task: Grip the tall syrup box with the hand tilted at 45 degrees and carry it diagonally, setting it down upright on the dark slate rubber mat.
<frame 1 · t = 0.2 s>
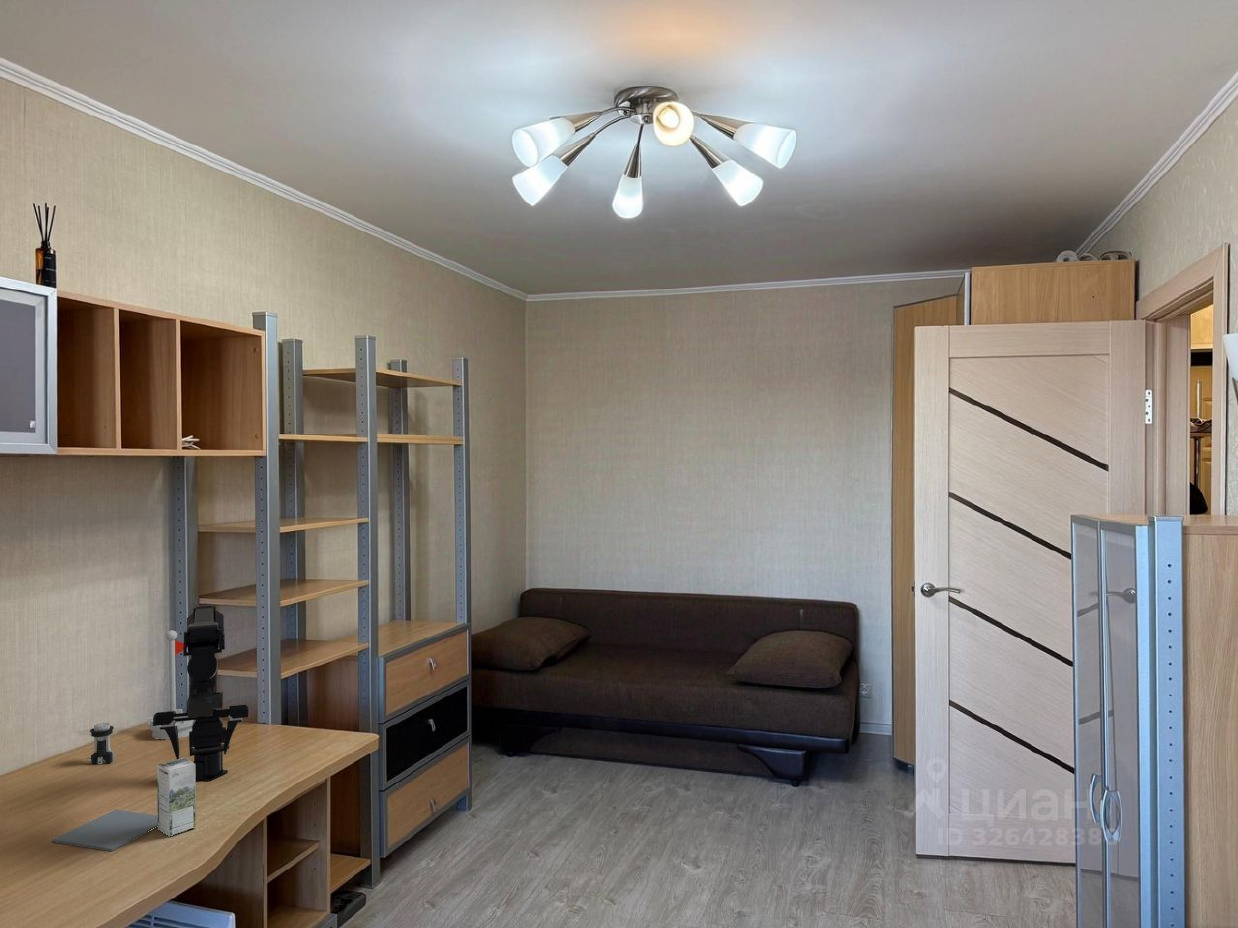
hand: (201, 756, 191), 15 cm above the table, tool tilted 15°, fingers open, 9 cm apart
syrup box: (177, 830, 190), on the table
slate mat: (114, 830, 190), on the table
flag stand: (173, 734, 256), on the table
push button: (99, 763, 232), on the table
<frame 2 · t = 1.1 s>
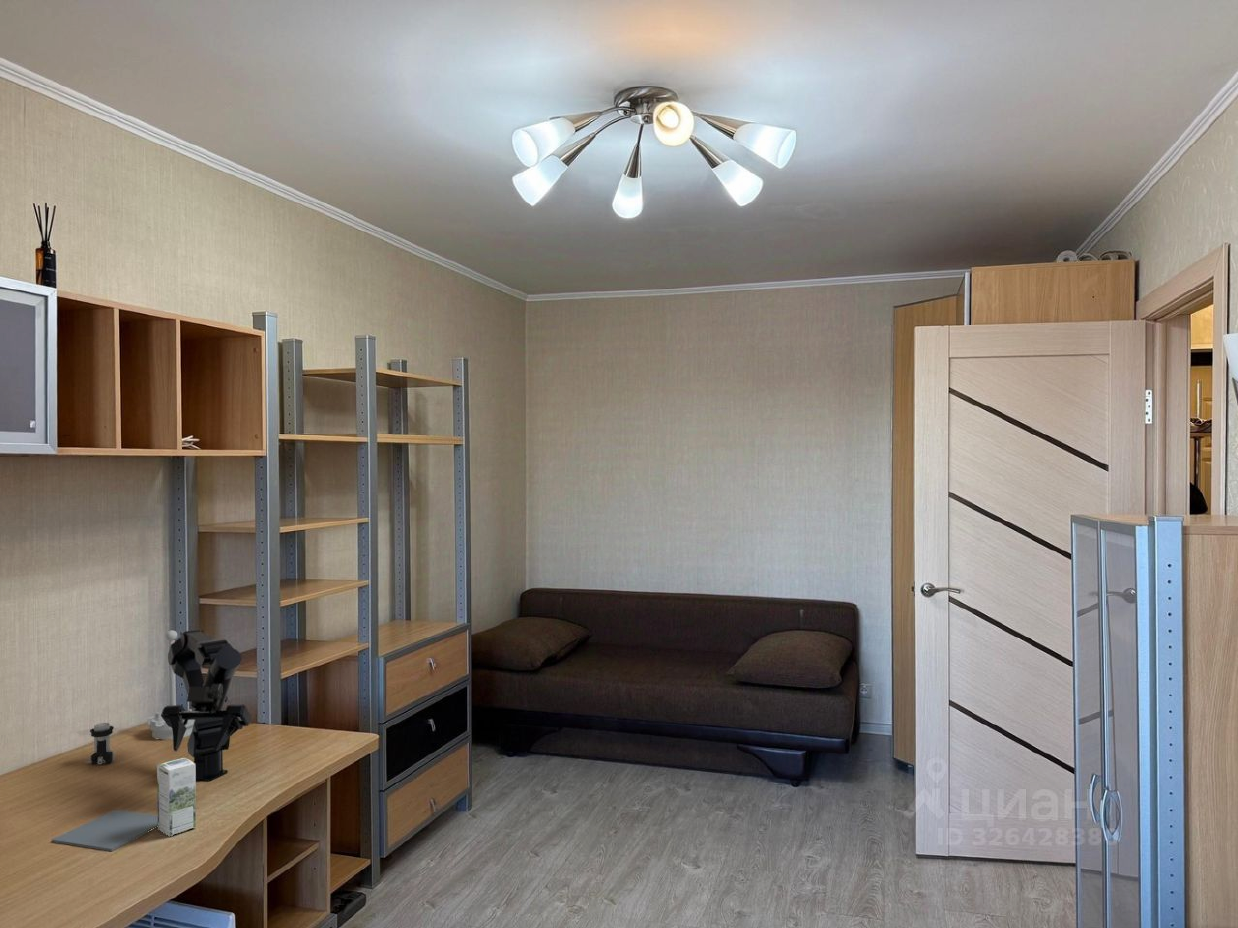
hand: (195, 749, 201), 13 cm above the table, tool tilted 45°, fingers open, 9 cm apart
nothing on the table moved.
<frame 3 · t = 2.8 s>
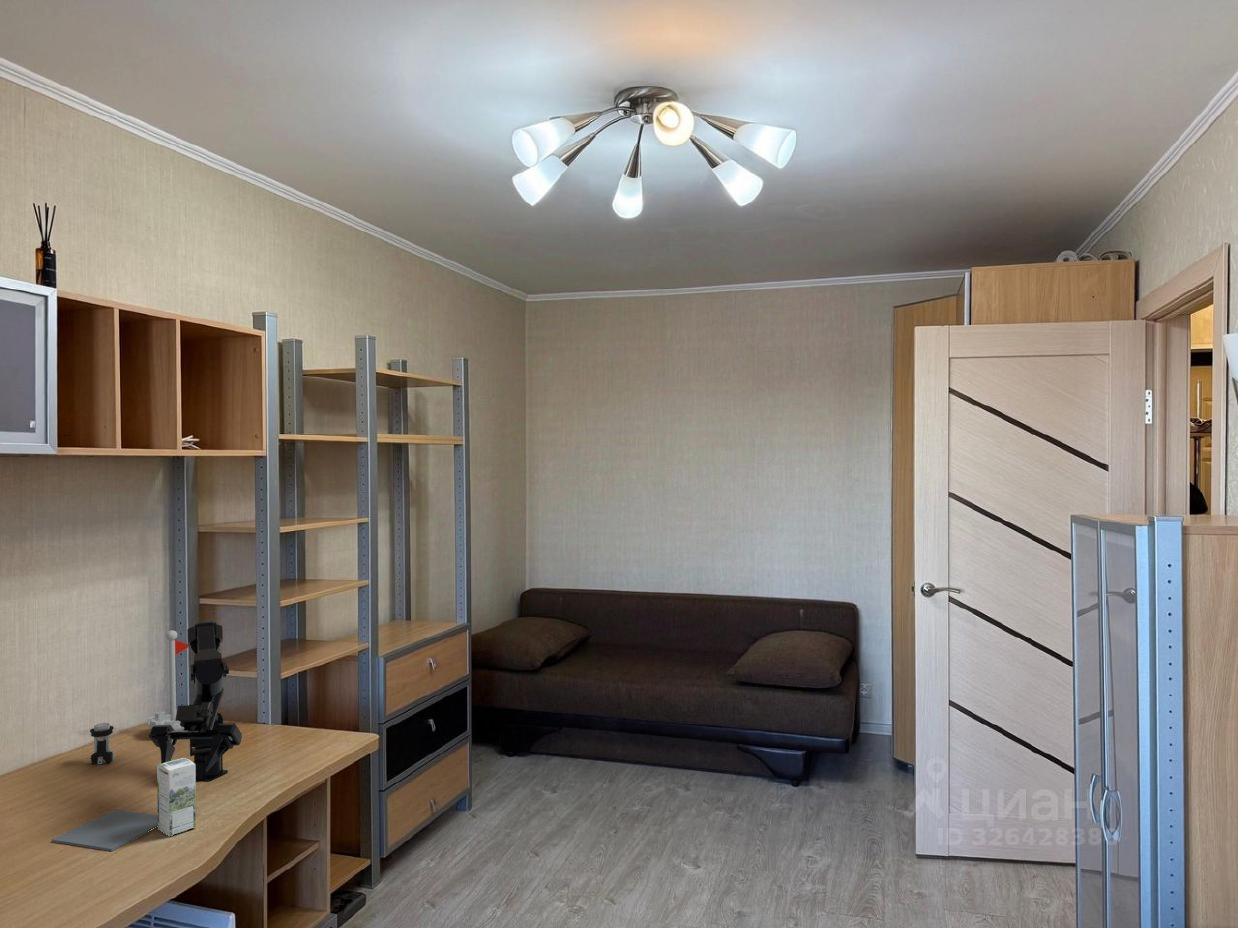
hand: (184, 771, 194), 11 cm above the table, tool tilted 45°, fingers open, 9 cm apart
nothing on the table moved.
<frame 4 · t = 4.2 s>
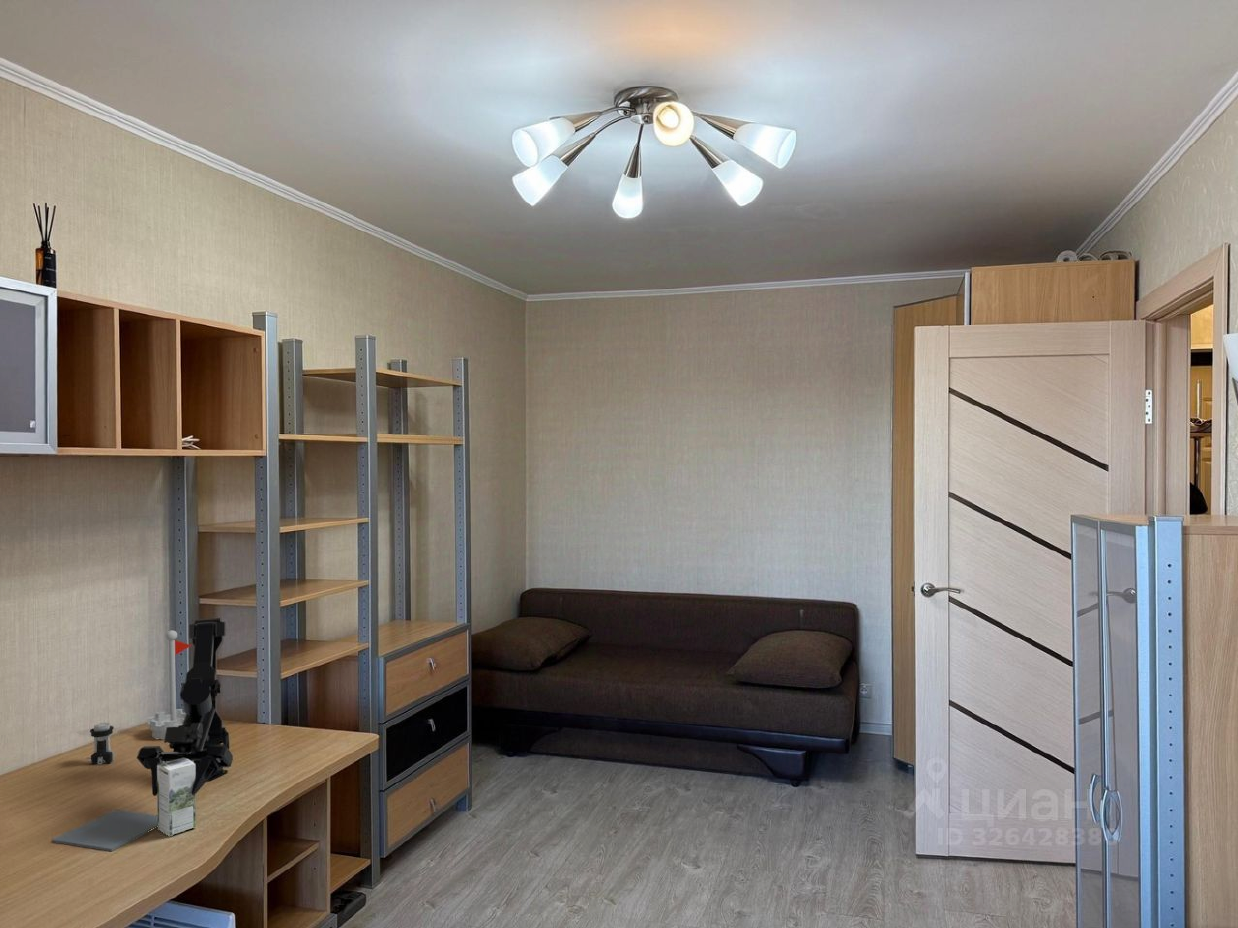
hand: (173, 794, 189), 8 cm above the table, tool tilted 45°, fingers closed on syrup box, 8 cm apart
syrup box: (177, 830, 190), on the table, touching gripper
everything else where it was.
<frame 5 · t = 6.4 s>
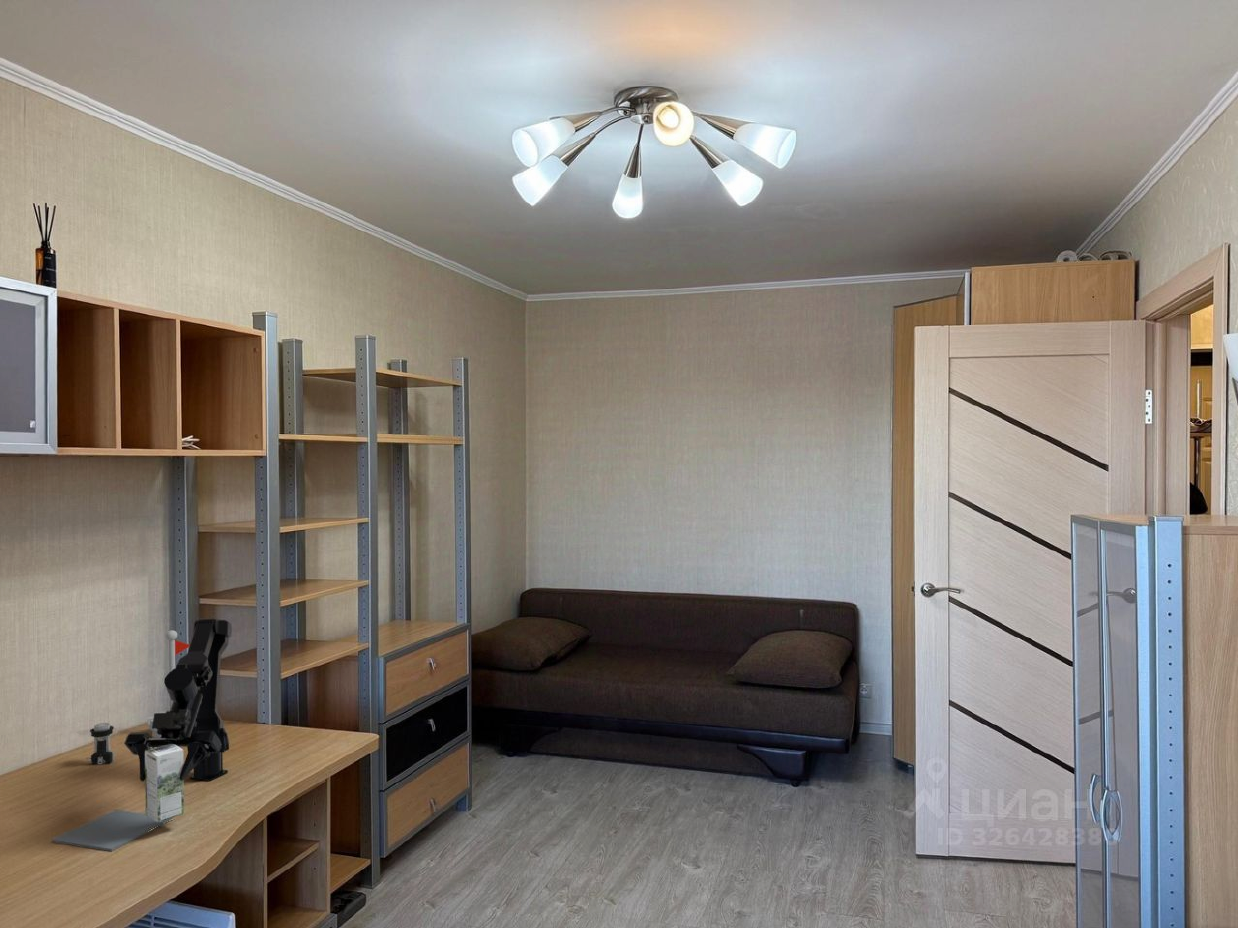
hand: (161, 780, 189), 11 cm above the table, tool tilted 45°, fingers closed on syrup box, 8 cm apart
syrup box: (165, 816, 190), point 3 cm above the table, touching gripper
everything else where it was.
when the fingers open (9 cm above the table, at t = 8.8 s): syrup box stays where it is, resting on slate mat.
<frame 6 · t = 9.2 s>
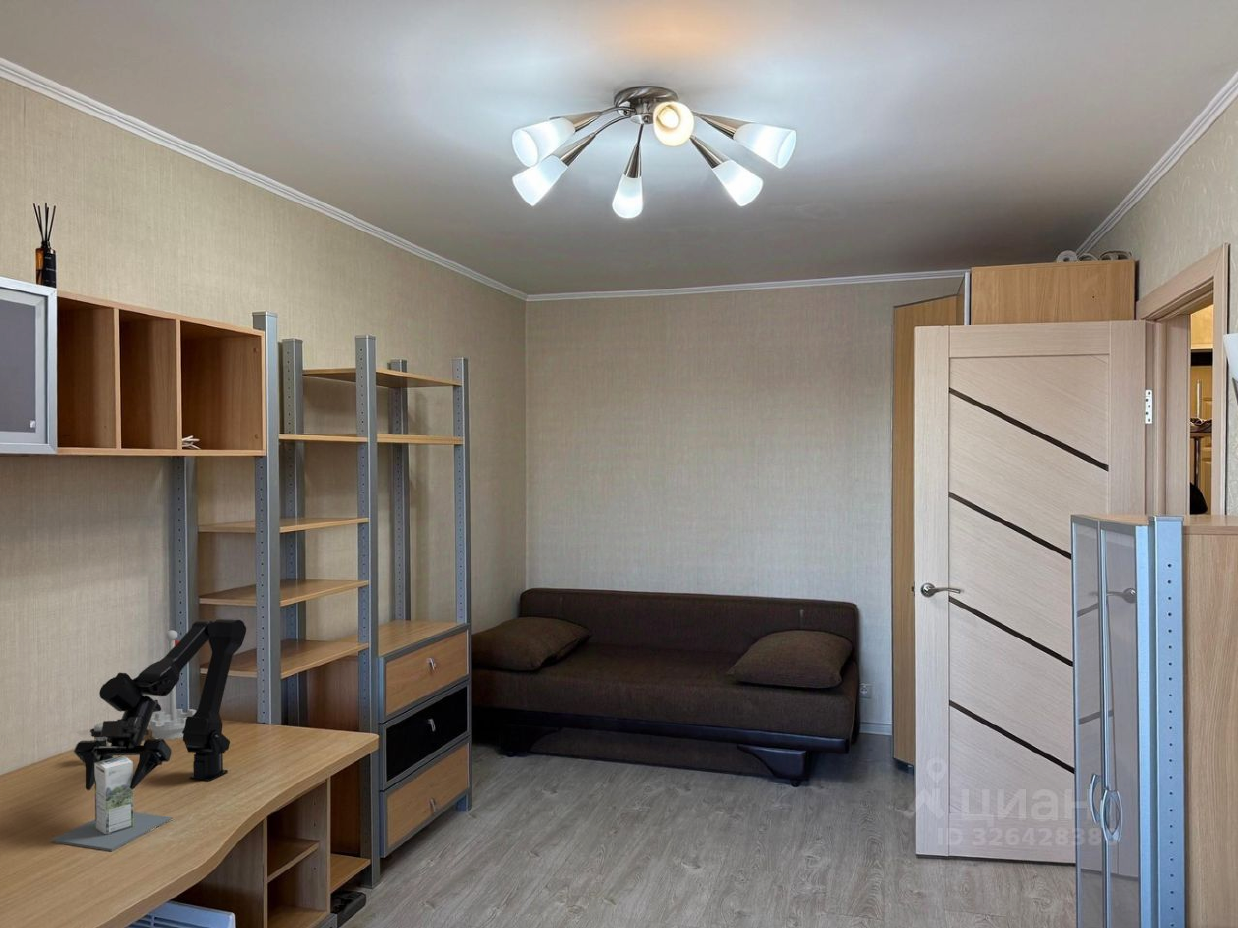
hand: (109, 788, 189), 10 cm above the table, tool tilted 45°, fingers open, 9 cm apart
syrup box: (114, 828, 190), resting on slate mat
everything else where it was.
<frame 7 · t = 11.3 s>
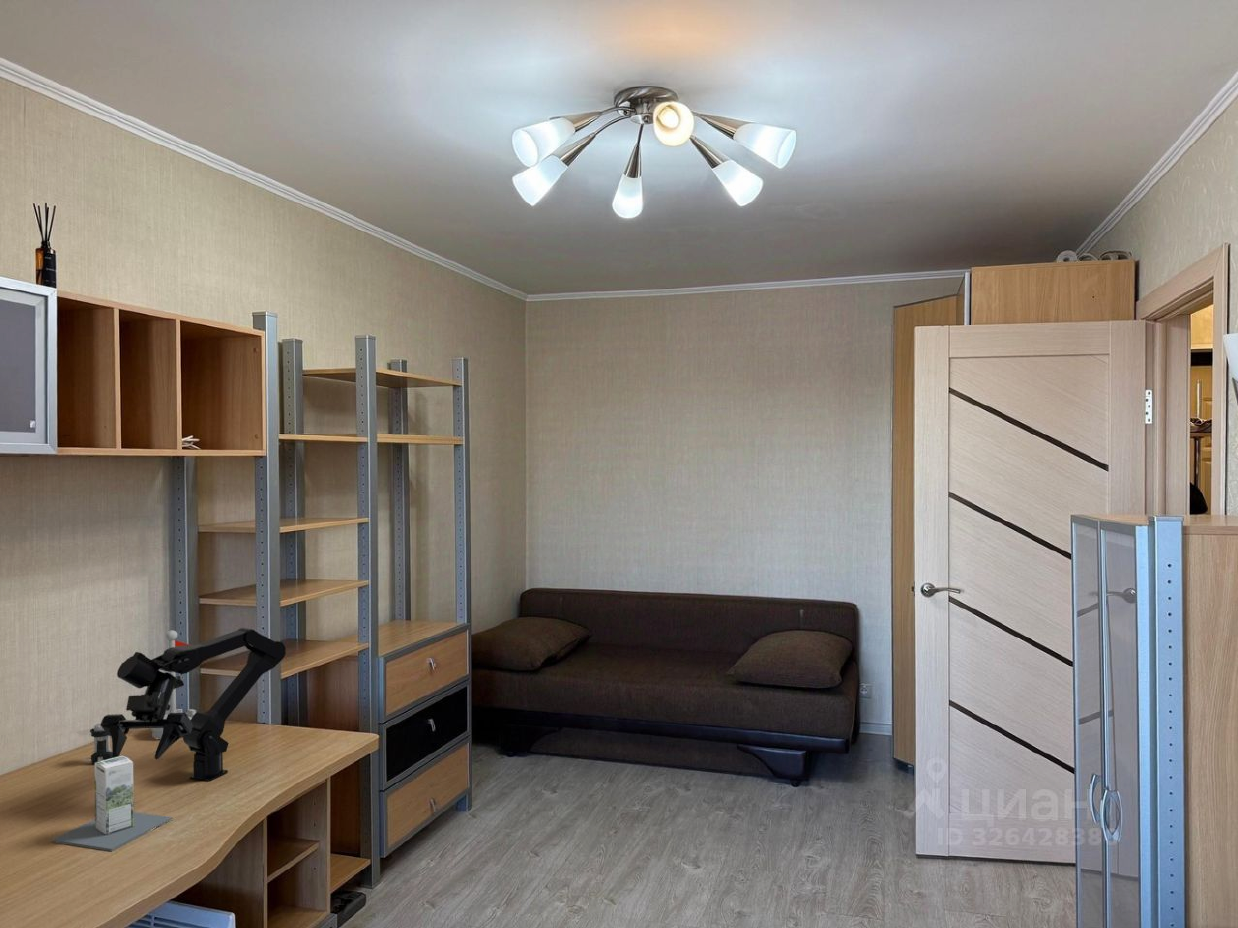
hand: (135, 759, 199), 12 cm above the table, tool tilted 45°, fingers open, 9 cm apart
nothing on the table moved.
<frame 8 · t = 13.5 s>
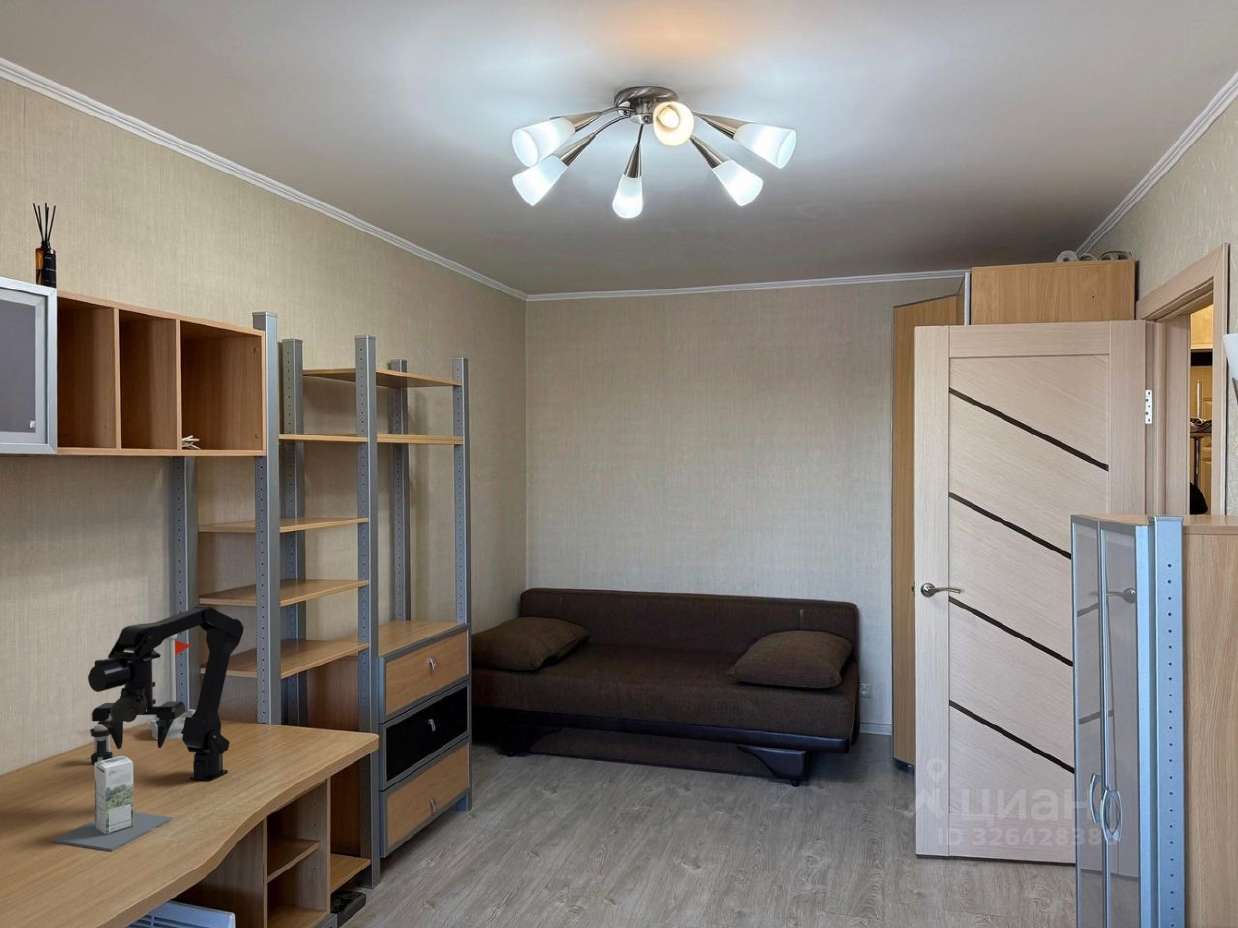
hand: (139, 748, 204), 13 cm above the table, tool pointing down, fingers open, 9 cm apart
nothing on the table moved.
at the end: syrup box inside the target area on the slate mat (0.2 cm from its centre), point 0.3 cm above the slate mat's base; syrup box tilted 0°; the gripper is holding nothing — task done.
